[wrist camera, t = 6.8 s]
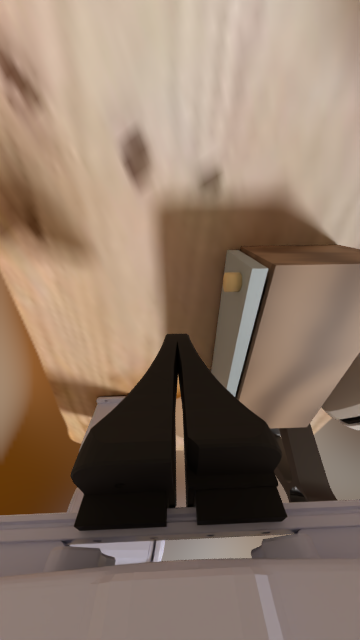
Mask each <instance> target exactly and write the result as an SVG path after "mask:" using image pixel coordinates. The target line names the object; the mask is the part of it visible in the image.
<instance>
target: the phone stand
mask: <svg viewBox="0 0 360 640" xmlns="http://www.w3.org/2000/svg"><path fill="white" fill-rule="evenodd" d="M270 429H271V431H272V433H273V435H274V436H275V438H276V440H277V442H278V444H279V446H280V449H281V451H282V458H281V461H280V463H279V464H278V466H277V467H276V469H275V470H274V473H275V475H276V477H277V478H278V479H279V481H280V483H281V484H282V486H283V488H284V490H285V492H286V494H287V496H288V499H289V503H293V502H315V501H338V500H337V499H336V498H335V496H334V494H333V492H332V491H331V488H330V486H329V483H328V480H327V477H326V473H325V470H324V467H323V464H322V461H321V457H320V454H319V451H318V448H317V444H316V441H315V438H314V435H313V432H312V428H311V425H310V424H309V425H308V426H307V427H299V428H270ZM280 435H281V437H280ZM281 438H282V439H281Z"/></svg>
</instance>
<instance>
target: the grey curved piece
mask: <svg viewBox="0 0 360 640" xmlns="http://www.w3.org/2000/svg"><path fill="white" fill-rule="evenodd" d="M322 408H323V410H324V411H325V412H327V413H328V414H329V415H330V416H331V417H332V418H334V419H338V420H339V421H340V423H342V424H343V425H345V426H348V427H350V428H352V429H355V430H360V353H359V354H358V355H357V357H356V358H355V360H354V361H353V362H352V364H351V365H350V367H349V368H348V370H347V371H346V372H345V374H344V375H343V377H342V378H341V380H340V381H339V382H338V384H337V385H336V387H335V388H334V389H333V391H332V392H331V394H330V395H329V397H328V398H327V399H326V401H325V402H324V404H323V405H322Z"/></svg>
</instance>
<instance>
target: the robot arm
mask: <svg viewBox="0 0 360 640" xmlns="http://www.w3.org/2000/svg"><path fill="white" fill-rule="evenodd" d="M178 376H179V384H180V392H181V399H182V409H183V427H184V455H185V480H186V481H185V482H186V507H181V508H175V507H176V434H175V407H176V393H177V380H178ZM96 401H97V403H98V404H97V406H96V409H95V411H94V414H93V416H92V419H91V421H90V424H89V426H88V429H87V431H86V434H85V436H84V439H83V441H82V444H81V447H80V450H79V454H78V456H77V459H76V462H75V464H74V467H73V469H72V472H71V478H72V480H73V482H74V484H75V485H76V486H77V489H76V491H75V493H74V495H73V497H72V500H71V503H70V505H69V508H68V510H67V513H50V514H49V513H48V514H25V515H2V516H0V640H360V500H339V501H315V502H293V503H282V500H281V498H280V495H279V492H278V490H277V486H278V481H277V479H276V476H275V473H274V470H275V469H276V467H277V466H278V464H279V463H280V461H281V458H282V451H281V449H280V446H279V444H278V442H277V440H276V438H275V436H274V435H273V433H272V431H271V429H270V428H269V426H268V424H267V423H266V422H265V421H264V420H263V419H261V418H260V417H259V416H257V415H256V414H255V413H253V412H252V411H251V410H249V409H248V408H247V407H246V406H245V405H243V404H242V403H241V402H240V401H239V400H238V399H236V398H235V397H234V396H233V395H232V394H231V393H230V392H229V391H228V390H227V389H226V388H225V387H224V386H223V385H222V384H221V383H220V382H219V381H218V380H217V379H216V377H215V376H214V375H213V374H212V373H211V372H210V370H209V369H208V368H207V366H206V365H205V364H204V362H203V361H202V359H201V358H200V356H199V355H198V353H197V352H196V350H195V348H194V347H193V345H192V343H191V341H190V338H189V335H188V334H167V335H166V337H165V340H164V342H163V345H162V347H161V349H160V351H159V353H158V355H157V356H156V358H155V360H154V361H153V363H152V365H151V366H150V368H149V369H148V371H147V372H146V373H145V375H144V376H143V377H142V379H141V380H140V381H139V382H138V384H137V385H136V386H135V387H134V388H133V389H132V391H131V392H130V393H129V394H128V395H127V396H117V397H98V398H97V400H96ZM283 534H291V535H286V536H280V537H274V538H268V539H263V541H262V545H261V546H260V547H257V548H255V549H253V550H252V551H251V556H252V558H246V559H245V558H243V559H197V560H176V561H161V559H162V555H163V551H164V544H165V540H179V539H200V538H220V537H240V536H262V535H283Z"/></svg>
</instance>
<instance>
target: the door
mask: <svg viewBox="0 0 360 640" xmlns="http://www.w3.org/2000/svg"><path fill="white" fill-rule="evenodd" d="M267 272H268V268H267V267H265V266H264V265H262V264H260V263H259V262H257V261H256V260H254V259H252V258H251V257H249V256H247V255H246V254H244V253H242V252H241V251H239V250H227V254H226V262H225V270H224V277H223V285H222V293H221V301H220V308H219V316H218V324H217V331H216V339H215V347H214V355H213V362H212V370H211V373H212V374H213V375H214V376H215V377H216V379H217V380H218V381H219V382H220V383H221V384H222V385H223V386H224V387H225V388H226V389H227V390H228V391H229V392H230V393H231V394H232V395H233V396H234V397H235V395H236V391H237V387H238V383H239V379H240V376H241V372H242V368H243V364H244V360H245V356H246V353H247V349H248V345H249V341H250V337H251V333H252V330H253V326H254V322H255V318H256V314H257V310H258V307H259V303H260V299H261V295H262V291H263V287H264V284H265V280H266V276H267Z"/></svg>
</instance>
